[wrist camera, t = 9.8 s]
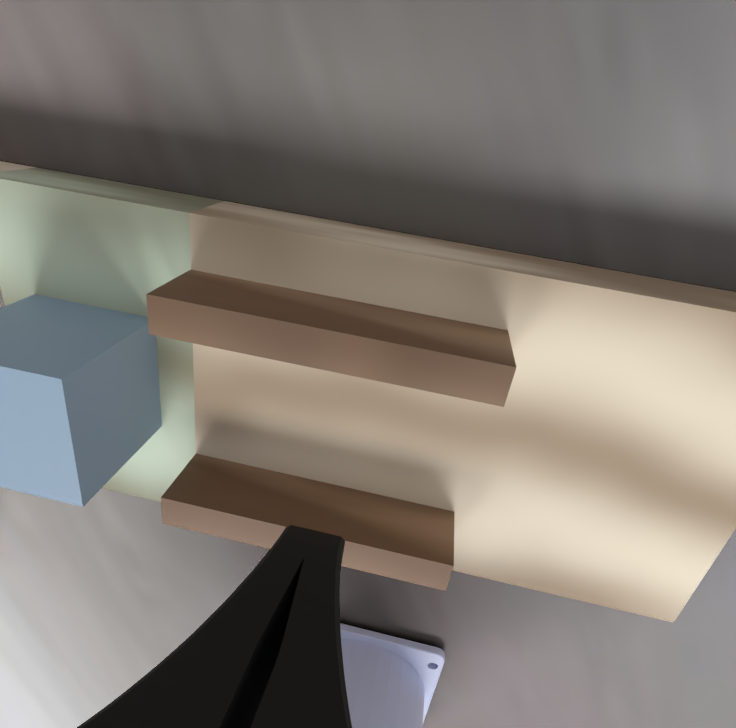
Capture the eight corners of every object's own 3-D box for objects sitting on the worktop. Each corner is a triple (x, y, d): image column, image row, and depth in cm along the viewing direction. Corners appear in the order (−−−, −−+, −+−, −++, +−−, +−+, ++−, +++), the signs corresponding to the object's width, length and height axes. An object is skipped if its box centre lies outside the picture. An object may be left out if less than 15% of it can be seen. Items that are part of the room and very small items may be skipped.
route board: (650, 569, 21) (701, 689, 16) (-36, 413, 24) (-151, 480, 19) (805, 304, 15) (944, 378, 11) (-114, 140, 18) (-300, 147, 14)
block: (161, 426, 19) (82, 507, 15) (54, 402, 19) (-51, 474, 15) (154, 318, 17) (61, 379, 13) (34, 294, 17) (-93, 345, 13)
